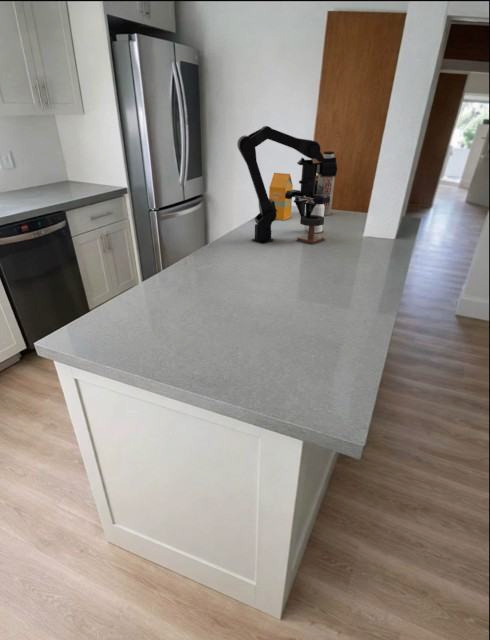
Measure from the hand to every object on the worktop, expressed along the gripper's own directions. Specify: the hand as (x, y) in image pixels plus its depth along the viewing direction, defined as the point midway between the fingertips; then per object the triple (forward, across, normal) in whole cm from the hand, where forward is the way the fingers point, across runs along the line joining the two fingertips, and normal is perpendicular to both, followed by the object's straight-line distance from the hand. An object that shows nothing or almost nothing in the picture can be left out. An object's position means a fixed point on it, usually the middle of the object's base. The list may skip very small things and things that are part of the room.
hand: (305, 219), depth 175 cm
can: (+8, +4, -13) cm, 16 cm away
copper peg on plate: (+8, -4, 0) cm, 9 cm away
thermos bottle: (+8, +22, -44) cm, 50 cm away
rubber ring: (+1, -4, 0) cm, 4 cm away
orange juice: (+8, +32, -22) cm, 40 cm away
